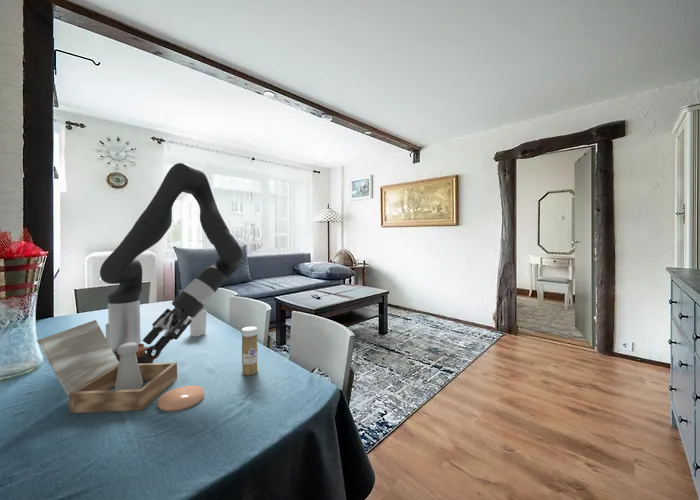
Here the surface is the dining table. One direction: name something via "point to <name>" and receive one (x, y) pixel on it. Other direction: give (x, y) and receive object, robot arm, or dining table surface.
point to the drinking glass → (198, 323)
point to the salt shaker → (128, 368)
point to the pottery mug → (143, 354)
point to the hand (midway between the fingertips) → (150, 346)
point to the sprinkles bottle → (249, 350)
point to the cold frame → (99, 372)
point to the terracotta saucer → (181, 398)
